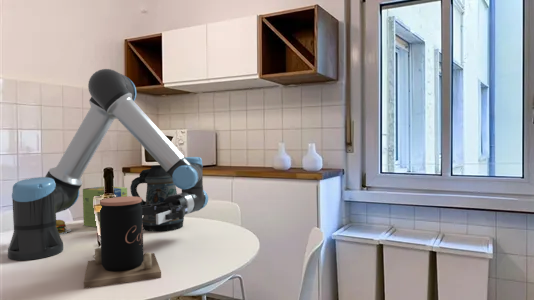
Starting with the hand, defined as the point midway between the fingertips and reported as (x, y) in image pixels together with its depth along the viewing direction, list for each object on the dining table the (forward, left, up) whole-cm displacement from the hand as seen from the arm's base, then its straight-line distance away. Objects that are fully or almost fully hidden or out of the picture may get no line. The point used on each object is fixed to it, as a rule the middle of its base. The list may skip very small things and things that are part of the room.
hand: (136, 218), depth 112 cm
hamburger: (-26, +55, -14) cm, 63 cm away
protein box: (-9, +61, -13) cm, 64 cm away
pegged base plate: (-4, -5, -13) cm, 15 cm away
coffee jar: (-4, -5, -12) cm, 13 cm away
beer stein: (+11, +45, -13) cm, 49 cm away
